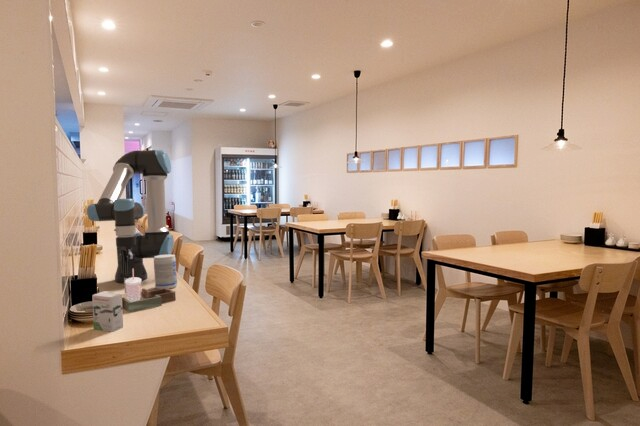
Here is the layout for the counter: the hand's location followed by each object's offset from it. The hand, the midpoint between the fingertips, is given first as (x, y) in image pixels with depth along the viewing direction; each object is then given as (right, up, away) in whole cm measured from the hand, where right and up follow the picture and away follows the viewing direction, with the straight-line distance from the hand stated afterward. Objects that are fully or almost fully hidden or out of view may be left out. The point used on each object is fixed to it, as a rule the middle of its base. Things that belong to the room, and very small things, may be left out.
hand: (128, 292), depth 178 cm
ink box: (+9, -6, -35) cm, 36 cm away
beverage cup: (+3, -3, -3) cm, 5 cm away
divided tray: (+6, -3, -6) cm, 9 cm away
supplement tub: (+8, -2, +20) cm, 22 cm away
